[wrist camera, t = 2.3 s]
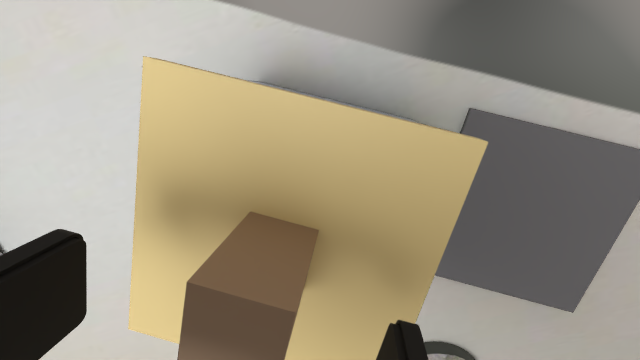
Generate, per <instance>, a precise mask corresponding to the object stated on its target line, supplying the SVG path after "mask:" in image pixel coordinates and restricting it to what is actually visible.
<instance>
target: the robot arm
mask: <svg viewBox="0 0 640 360" xmlns="http://www.w3.org/2000/svg"><path fill="white" fill-rule="evenodd" d="M86 311H87V309H86V242H85V241H83V237H82V236H81V235H80V234H78V233H74V232H70V231H67V230H63V229H57V230H54V231H52V232H50V233H48V234H45V235H43V236H41V237H39V238H37V239H35V240H33V241H31V242H28V243H26V244H24V245H22V246H20V247H18V248H16V249H14V250H12V251H9V252H7V253H5V254H3V255H1V256H0V360H39V359H40V358H41V357H42V356H43V355H44V354H46V353H47V352H48V351H49V350H50V349H51V348H53V347H54V346H55V345H56V344H57V343H58V342H60V341H61V340H62V339H63V338H64V337H65V336H67V335H68V334H69V333H70V332H71V331H72V330H74V329H75V328H76V327H77V326H78V325H79V324H80V323H81V322H82V321H83V319H84V317H85V315H86ZM376 360H429V359H428V356H427V352H426V349H425V345H424V341H423V338H422V334H421V331H420V328H419V326H418V325H417V324H413V323H410V322H406V321H402V320H397V322H396V324H393V323H390V324H389V326H388V329H387V331H386V334H385V337H384V339H383V342H382V345H381V347H380V350H379V353H378V355H377V358H376Z"/></svg>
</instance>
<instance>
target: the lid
mask: <svg viewBox="0 0 640 360" xmlns="http://www.w3.org/2000/svg"><path fill="white" fill-rule="evenodd" d="M487 144H488V142H487V141H485V140H482V139H479V138H476V137H472V136H468V135H464V134H460V133H456V132H452V131H448V130H444V129H440V128H436V127H432V126H428V125H424V124H420V123H416V122H412V121H408V120H404V119H400V118H395V117H391V116H387V115H383V114H379V113H375V112H371V111H367V110H363V109H359V108H355V107H351V106H347V105H343V104H339V103H335V102H331V101H327V100H323V99H319V98H315V97H311V96H307V95H303V94H299V93H295V92H291V91H287V90H283V89H279V88H275V87H270V86H266V85H262V84H258V83H254V82H250V81H246V80H242V79H238V78H234V77H230V76H226V75H222V74H218V73H214V72H210V71H206V70H202V69H198V68H194V67H190V66H186V65H182V64H178V63H174V62H170V61H166V60H162V59H157V58H151V57H145V56H143V72H142V90H141V108H140V126H139V145H138V163H137V181H136V199H135V218H134V236H133V254H132V272H131V291H130V309H129V327H128V329H130V330H133V331H137V332H140V333H144V334H147V335H150V336H154V337H157V338H161V339H164V340H167V341H171V342H174V343H178V344H179V351H178V359H177V360H376V358H377V355H378V353H379V350H380V347H381V345H382V342H383V339H384V337H385V334H386V331H387V329H388V326H389V324H390V323H393V324H396V322H397V320H402V321H406V322H410V323H413V324H415V322H416V320H417V317H418V315H419V312H420V310H421V308H422V305H423V303H424V300H425V298H426V295H427V293H428V290H429V288H430V285H431V283H432V280H433V278H434V275H435V273H436V270H437V268H438V266H439V263H440V261H441V258H442V256H443V253H444V251H445V248H446V246H447V243H448V241H449V238H450V236H451V233H452V231H453V228H454V226H455V224H456V221H457V219H458V216H459V214H460V211H461V209H462V206H463V204H464V201H465V199H466V196H467V194H468V191H469V189H470V186H471V184H472V182H473V179H474V177H475V174H476V172H477V169H478V167H479V164H480V162H481V159H482V157H483V154H484V152H485V149H486V147H487Z"/></svg>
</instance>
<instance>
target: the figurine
mask: <svg viewBox="0 0 640 360" xmlns="http://www.w3.org/2000/svg"><path fill="white" fill-rule="evenodd" d="M424 345H425V349H426V352H427V356H428V359H429V360H475V359H474V358H473V357H472V356H471V355H470V354H469V353H468V352H467V351H465V350H464V349H462V348H460V347H458V346H455V345H453V344H449V343H445V342H424Z"/></svg>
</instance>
